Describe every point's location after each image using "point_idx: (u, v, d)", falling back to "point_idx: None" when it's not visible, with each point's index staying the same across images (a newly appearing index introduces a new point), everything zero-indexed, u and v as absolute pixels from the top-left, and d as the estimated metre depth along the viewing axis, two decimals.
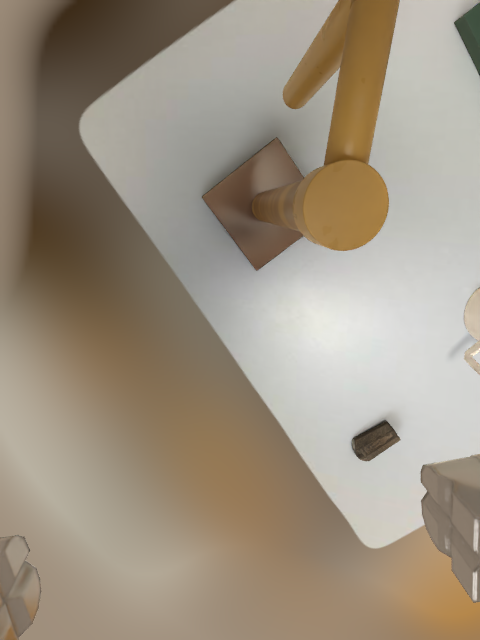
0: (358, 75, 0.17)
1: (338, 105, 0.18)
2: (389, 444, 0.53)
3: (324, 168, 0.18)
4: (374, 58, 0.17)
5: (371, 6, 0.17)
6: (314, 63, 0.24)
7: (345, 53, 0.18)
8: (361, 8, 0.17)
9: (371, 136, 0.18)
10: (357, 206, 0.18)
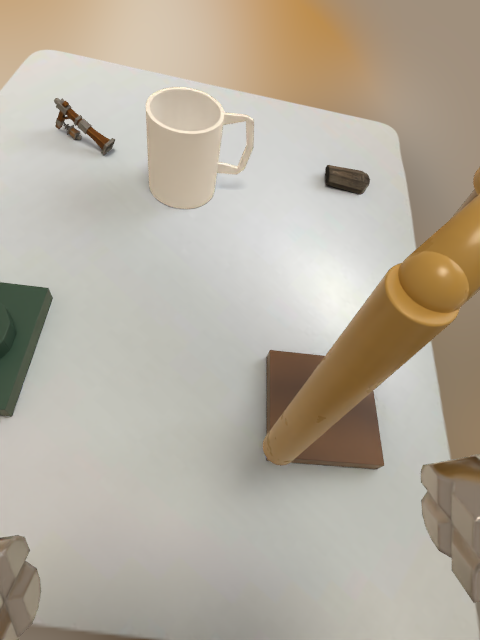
0: None
1: None
2: (338, 168, 0.55)
3: None
4: None
5: (473, 261, 0.11)
6: None
7: None
8: (479, 274, 0.11)
9: None
10: None
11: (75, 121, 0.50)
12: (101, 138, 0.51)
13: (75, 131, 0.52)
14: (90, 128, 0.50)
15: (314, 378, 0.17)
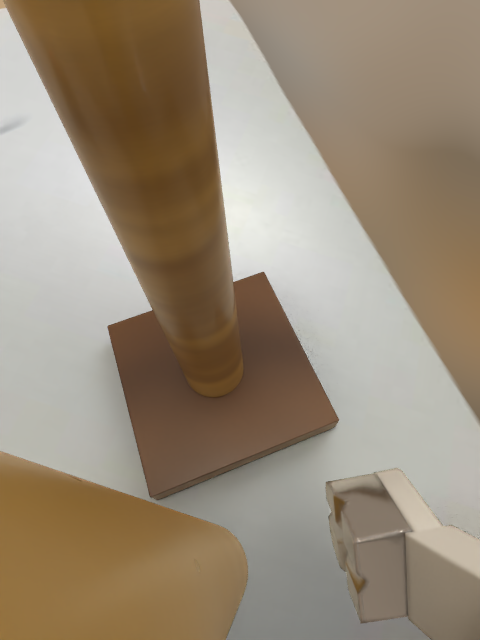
0: None
1: None
2: None
3: None
4: None
5: None
6: (115, 508, 0.02)
7: None
8: None
9: None
10: None
11: None
12: None
13: None
14: None
15: None
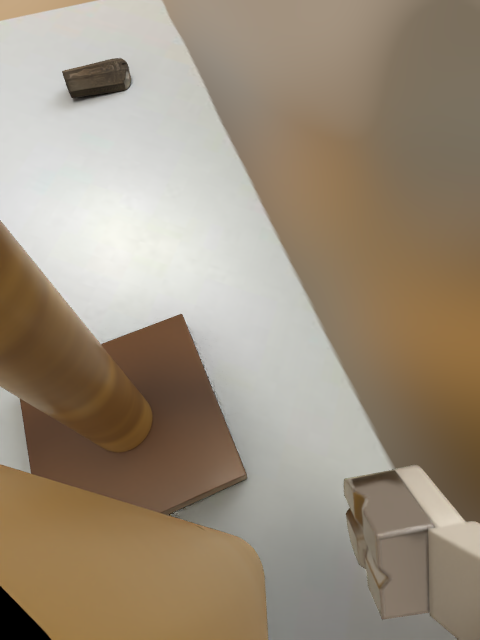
0: None
1: None
2: (78, 68, 0.38)
3: None
4: None
5: None
6: None
7: None
8: None
9: None
10: None
11: None
12: None
13: None
14: None
15: None
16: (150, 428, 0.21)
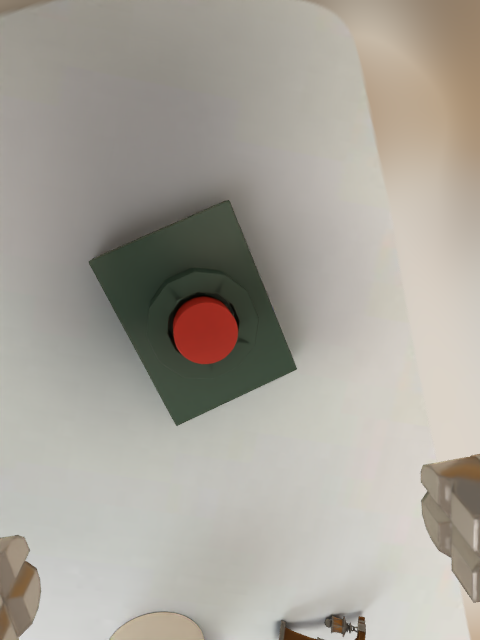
0: None
1: None
2: None
3: None
4: None
5: None
6: None
7: None
8: None
9: None
10: None
11: None
12: None
13: (335, 629, 0.36)
14: None
15: None
16: None
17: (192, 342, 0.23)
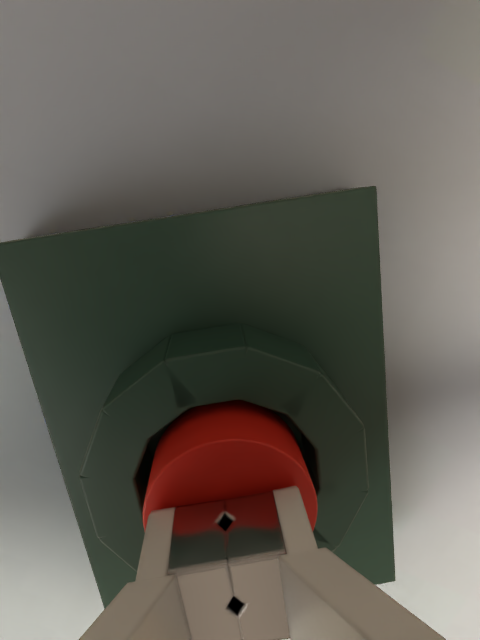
0: None
1: None
2: None
3: None
4: None
5: None
6: None
7: None
8: None
9: None
10: None
11: None
12: None
13: None
14: None
15: None
16: None
17: None
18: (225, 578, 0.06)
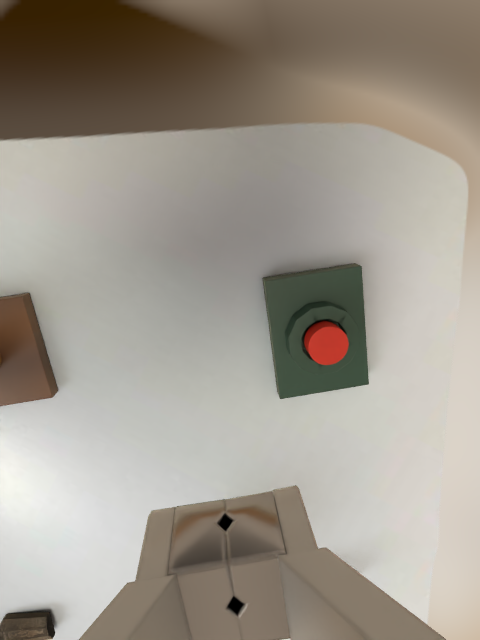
0: None
1: None
2: (37, 639, 0.46)
3: None
4: None
5: None
6: None
7: None
8: None
9: None
10: None
11: None
12: None
13: None
14: None
15: None
16: None
17: (318, 348, 0.36)
18: (225, 578, 0.06)
